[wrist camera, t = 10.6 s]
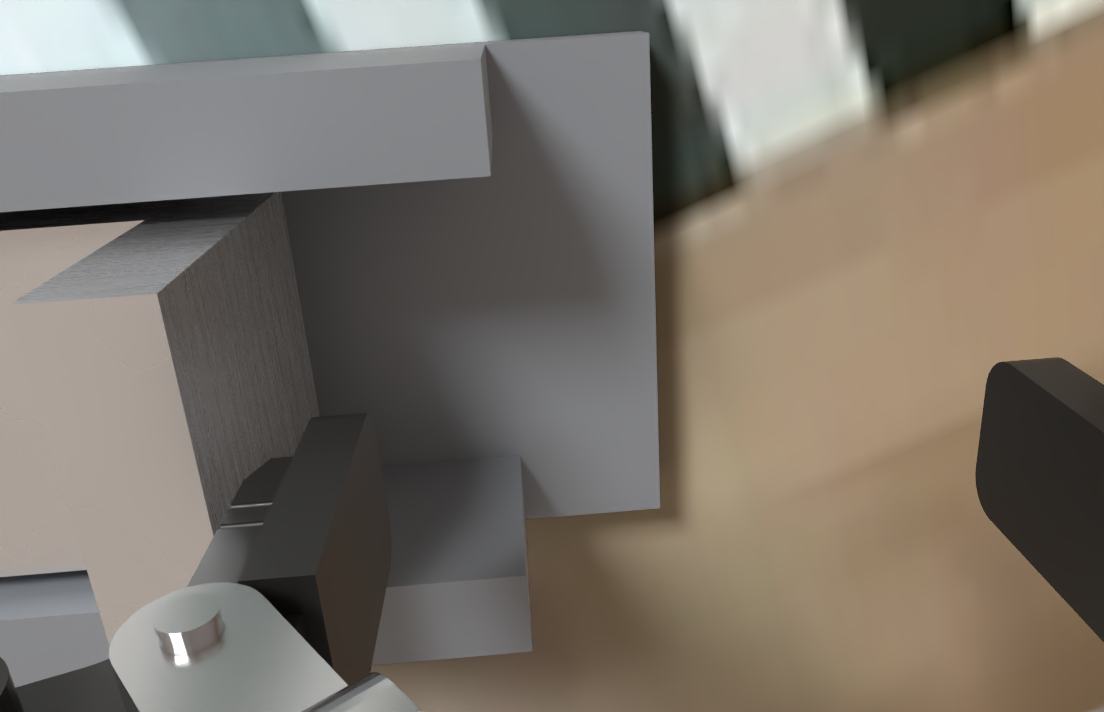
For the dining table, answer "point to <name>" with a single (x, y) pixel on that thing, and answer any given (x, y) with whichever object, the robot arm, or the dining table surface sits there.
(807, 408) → the dining table surface
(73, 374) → the notched taupe block
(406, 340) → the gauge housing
